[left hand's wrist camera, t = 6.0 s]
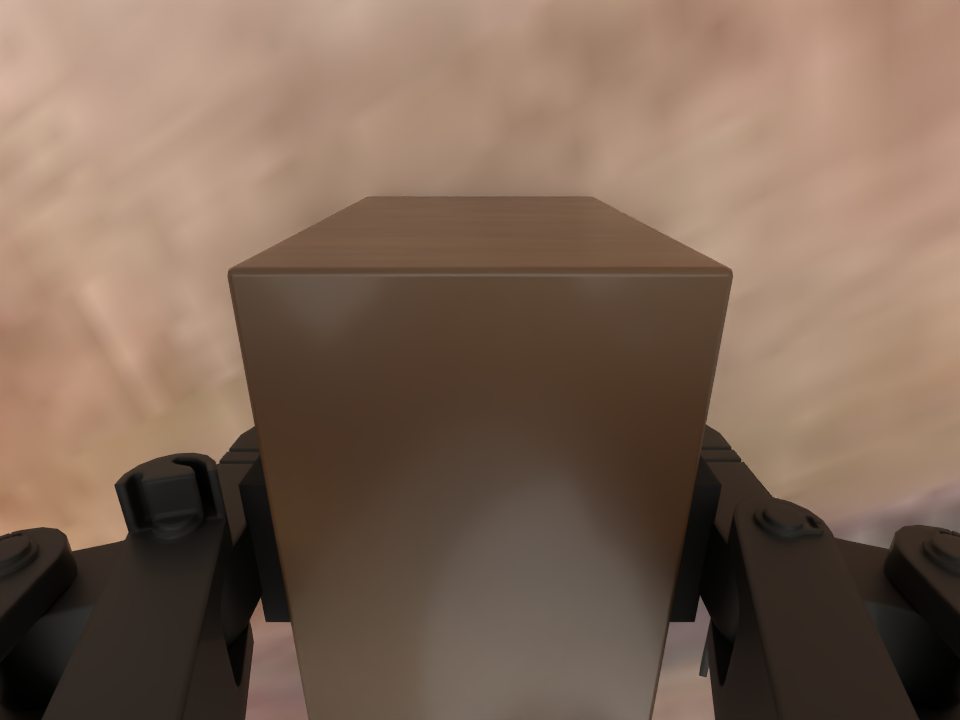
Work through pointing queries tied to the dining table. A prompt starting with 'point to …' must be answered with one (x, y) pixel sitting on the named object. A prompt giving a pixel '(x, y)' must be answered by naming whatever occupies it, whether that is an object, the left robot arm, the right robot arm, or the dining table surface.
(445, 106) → the dining table surface
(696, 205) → the dining table surface
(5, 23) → the dining table surface
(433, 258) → the bar
